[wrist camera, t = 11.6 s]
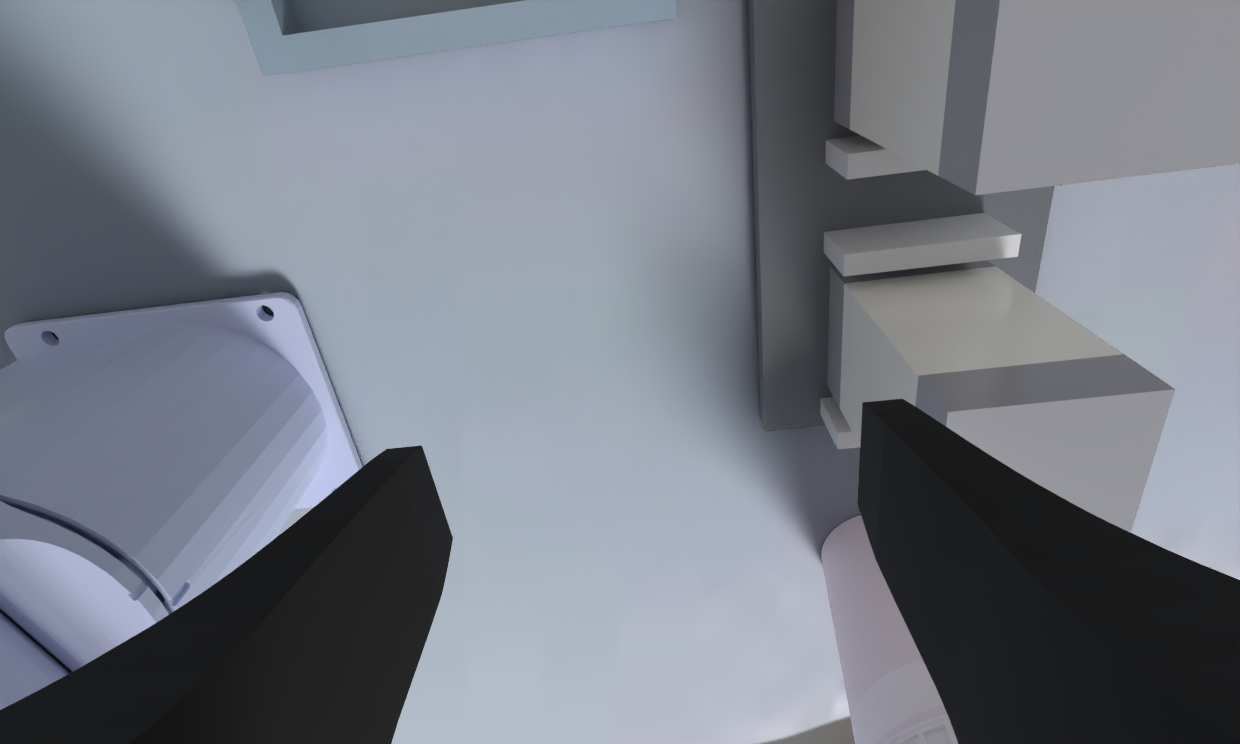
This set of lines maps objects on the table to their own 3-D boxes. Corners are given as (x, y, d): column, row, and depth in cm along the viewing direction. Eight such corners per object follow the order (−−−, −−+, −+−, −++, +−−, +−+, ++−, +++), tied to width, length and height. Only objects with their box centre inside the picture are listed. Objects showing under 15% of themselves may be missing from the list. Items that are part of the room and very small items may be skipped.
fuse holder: (760, 418, 23) (776, 467, 20) (728, -664, 12) (755, -840, 9) (1002, 393, 22) (1049, 441, 20) (1197, -761, 11) (1356, -976, 9)
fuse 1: (833, 121, 17) (975, 195, 10) (838, -59, 16) (1015, -118, 9) (990, 100, 17) (1245, 162, 10) (1015, -85, 15) (1347, -168, 8)
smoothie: (770, 603, 27) (893, 1101, 15) (805, 476, 24) (997, 969, 12) (926, 614, 27) (1175, 1113, 15) (980, 489, 24) (1349, 987, 12)
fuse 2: (827, 385, 21) (927, 571, 14) (830, 266, 19) (947, 412, 12) (955, 372, 21) (1124, 554, 14) (971, 250, 19) (1175, 389, 12)
